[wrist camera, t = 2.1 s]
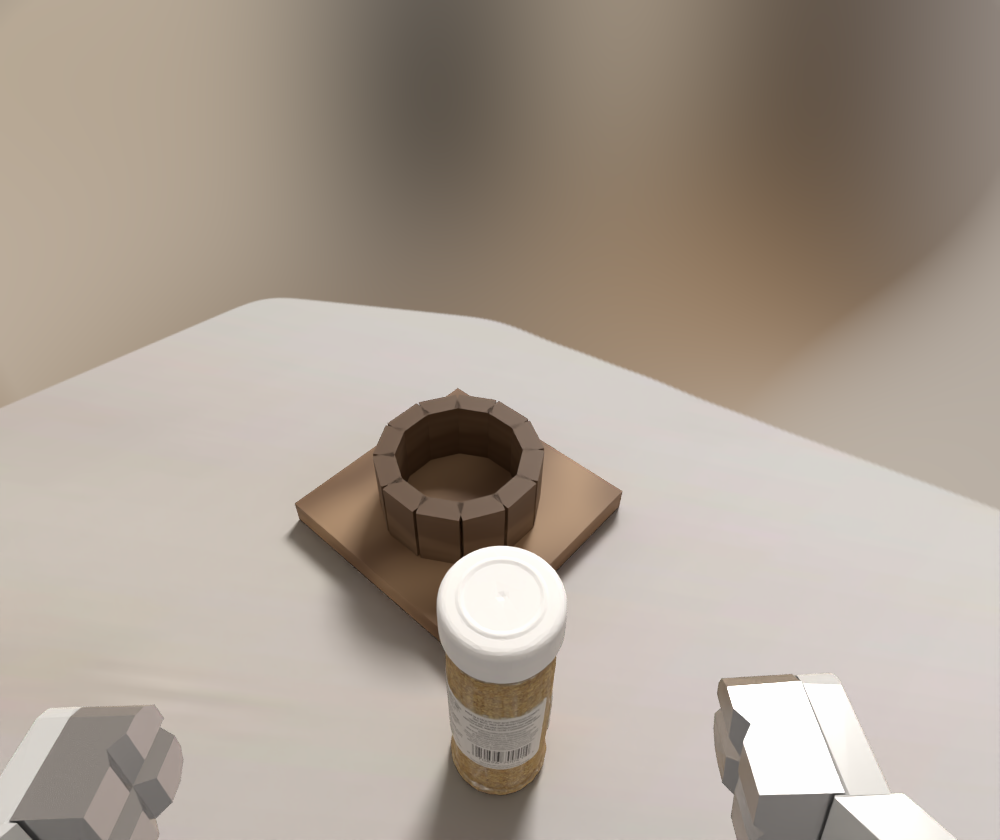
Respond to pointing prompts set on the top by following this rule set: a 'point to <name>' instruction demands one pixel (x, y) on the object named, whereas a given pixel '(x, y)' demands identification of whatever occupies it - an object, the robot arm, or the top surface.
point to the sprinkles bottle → (500, 663)
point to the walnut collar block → (454, 498)
